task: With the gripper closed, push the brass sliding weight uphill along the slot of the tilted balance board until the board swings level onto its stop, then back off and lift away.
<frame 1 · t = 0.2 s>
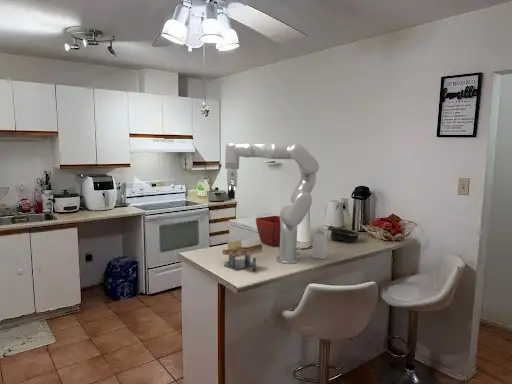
hand: (231, 197, 195), 36 cm above the worktop, tool pointing down, fingers open, 9 cm apart
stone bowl: (344, 240, 257), on the worktop
milk carton: (319, 257, 214), on the worktop
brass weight: (235, 250, 196), point 8 cm above the worktop, tilted 13°, touching balance board
pivot stand: (239, 265, 194), on the worktop
balance board: (241, 249, 192), point 9 cm above the worktop, hinge at -12.7°, touching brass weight
plant pot: (274, 243, 242), on the worktop
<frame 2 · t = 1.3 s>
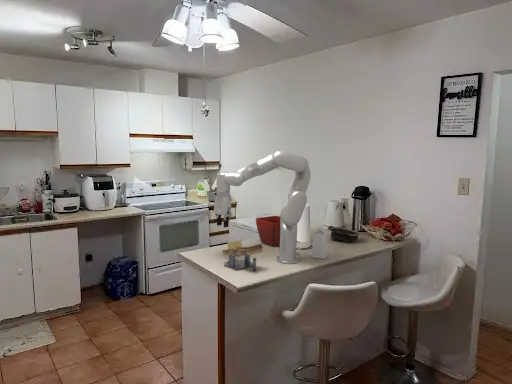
hand: (222, 225, 202), 19 cm above the worktop, tool pointing down, fingers open, 5 cm apart
nothing on the worktop moved.
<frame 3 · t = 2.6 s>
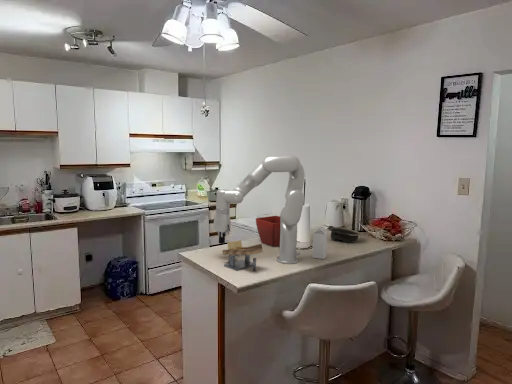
hand: (221, 243, 203), 9 cm above the worktop, tool pointing down, fingers closed
nothing on the worktop moved.
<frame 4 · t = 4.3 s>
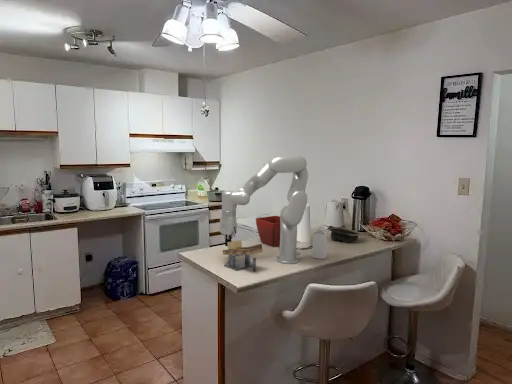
hand: (228, 245, 200), 9 cm above the worktop, tool pointing down, fingers closed
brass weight: (235, 250, 196), point 8 cm above the worktop, tilted 13°, touching balance board, gripper
everything else where it was.
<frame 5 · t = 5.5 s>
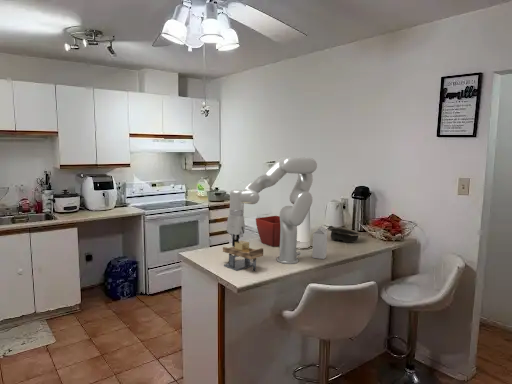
hand: (235, 246, 195), 10 cm above the worktop, tool pointing down, fingers closed
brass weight: (242, 251, 191), point 9 cm above the worktop, touching balance board, gripper
balance board: (242, 250, 191), point 9 cm above the worktop, hinge at -2.6°, touching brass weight
everything else where it was.
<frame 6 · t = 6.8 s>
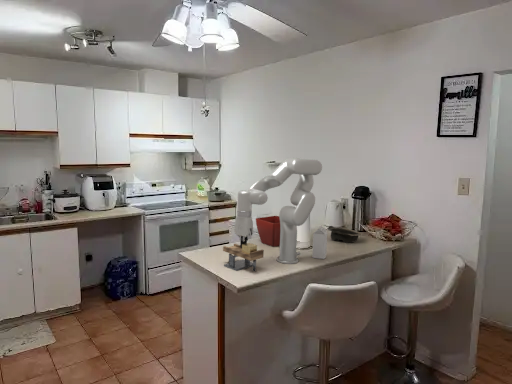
hand: (243, 247, 191), 11 cm above the worktop, tool pointing down, fingers closed
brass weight: (249, 254, 187), point 8 cm above the worktop, touching balance board
balance board: (242, 250, 191), point 9 cm above the worktop, hinge at 0.8°, touching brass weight
everything else where it was.
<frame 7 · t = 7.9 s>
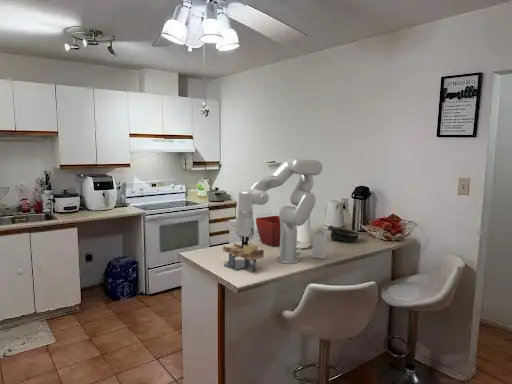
hand: (244, 248, 190), 11 cm above the worktop, tool pointing down, fingers closed
nothing on the worktop moved.
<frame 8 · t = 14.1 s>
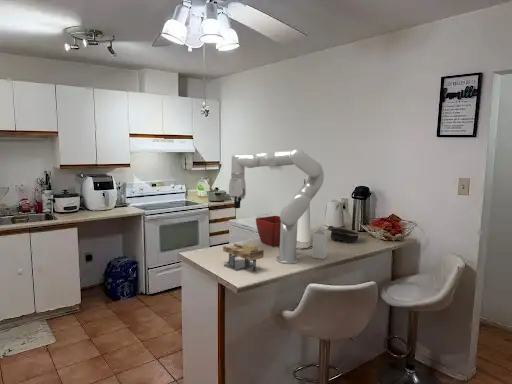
hand: (237, 207, 206), 29 cm above the worktop, tool pointing down, fingers closed
nothing on the worktop moved.
at the end: balance board at +1° (first picture: -13°); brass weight inside the target area on the balance board (1.4 cm from its centre), point 2.4 cm above the balance board's base; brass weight tilted 1° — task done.
